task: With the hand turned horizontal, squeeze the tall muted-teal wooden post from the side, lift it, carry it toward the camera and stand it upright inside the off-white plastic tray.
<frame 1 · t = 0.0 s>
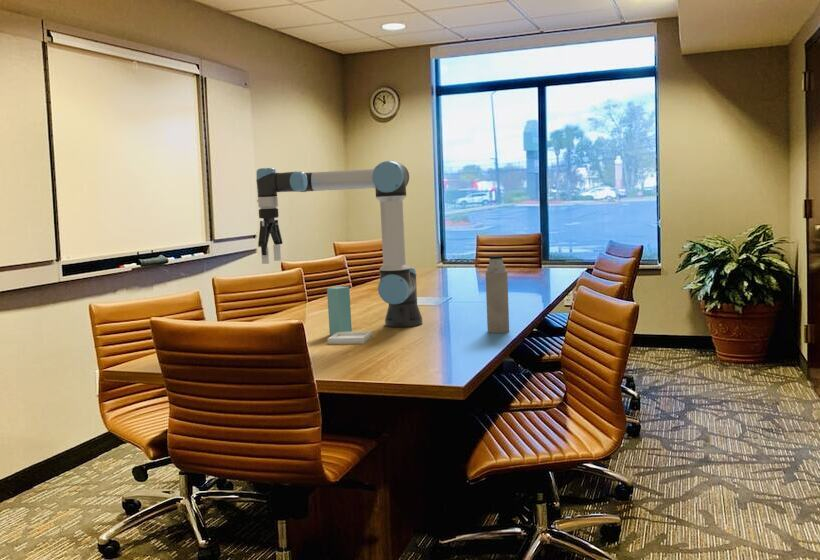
hand: (271, 262, 293), 28 cm above the table, tool pointing down, fingers open, 13 cm apart
tray: (350, 340, 271), on the table
teal post: (340, 334, 285), on the table
thermos bottle: (498, 331, 275), on the table
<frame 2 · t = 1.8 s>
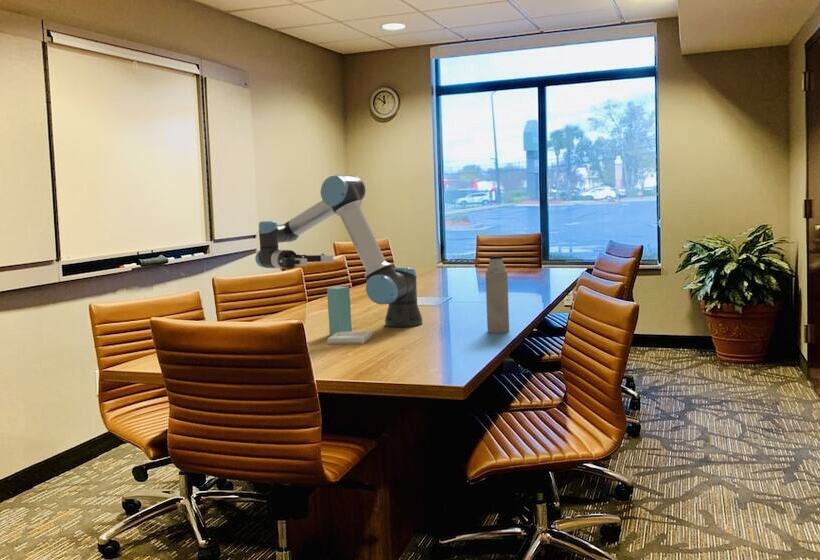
hand: (319, 260, 288), 28 cm above the table, tool horizontal, fingers open, 13 cm apart
nothing on the table moved.
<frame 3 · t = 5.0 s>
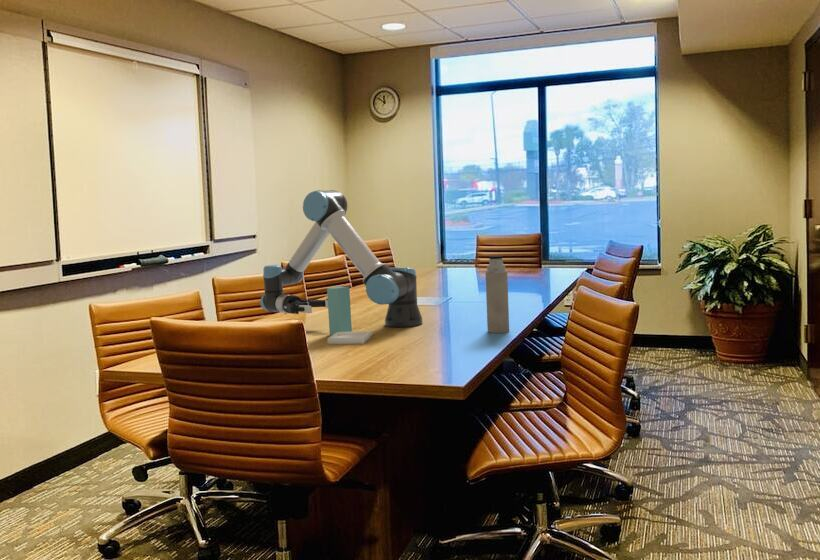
hand: (324, 307, 289), 10 cm above the table, tool horizontal, fingers open, 13 cm apart
nothing on the table moved.
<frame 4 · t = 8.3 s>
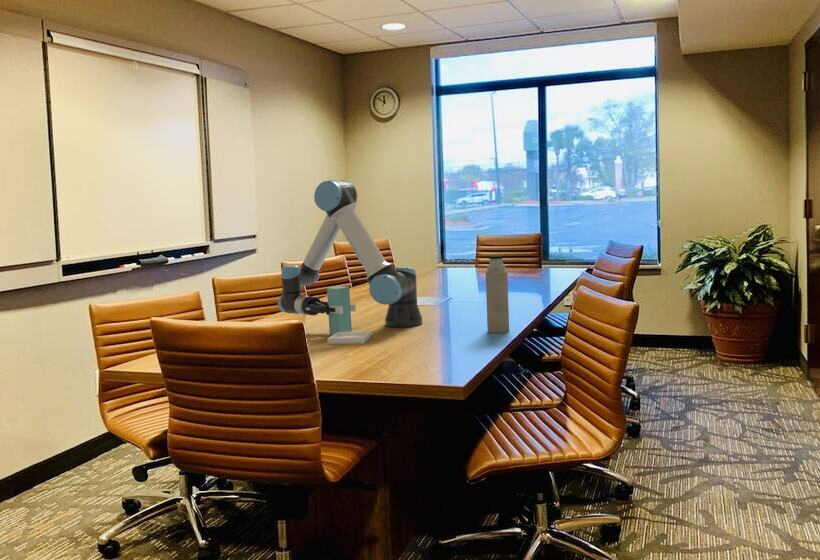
hand: (348, 309, 280), 10 cm above the table, tool horizontal, fingers closed on teal post, 6 cm apart
teal post: (340, 334, 285), on the table, touching gripper
everything else where it was.
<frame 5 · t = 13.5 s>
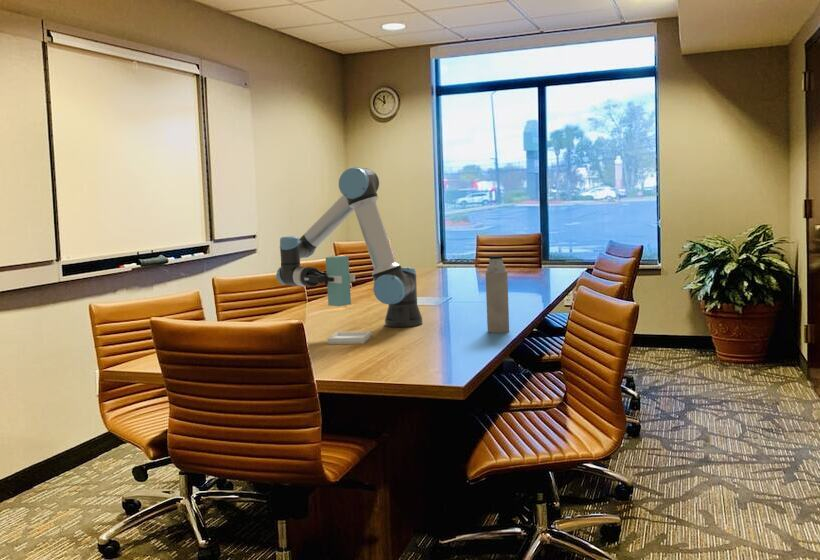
hand: (347, 278, 275), 22 cm above the table, tool horizontal, fingers closed on teal post, 6 cm apart
teal post: (339, 304, 279), point 12 cm above the table, touching gripper
everything else where it was.
when the fingers open (12 cm above the table, at t = 19.0 s): teal post stays where it is, resting on tray.
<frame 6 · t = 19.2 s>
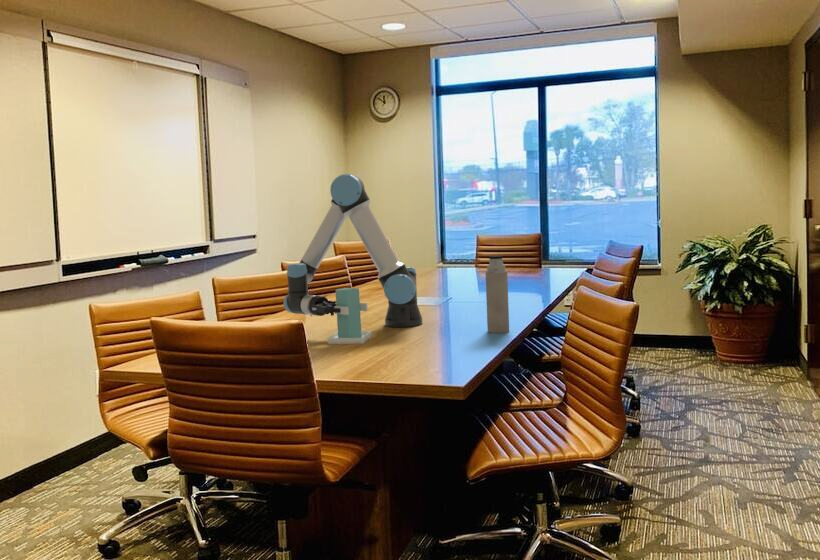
hand: (357, 309, 266), 12 cm above the table, tool horizontal, fingers open, 9 cm apart
teal post: (349, 338, 271), point 1 cm above the table, touching tray
everything else where it was.
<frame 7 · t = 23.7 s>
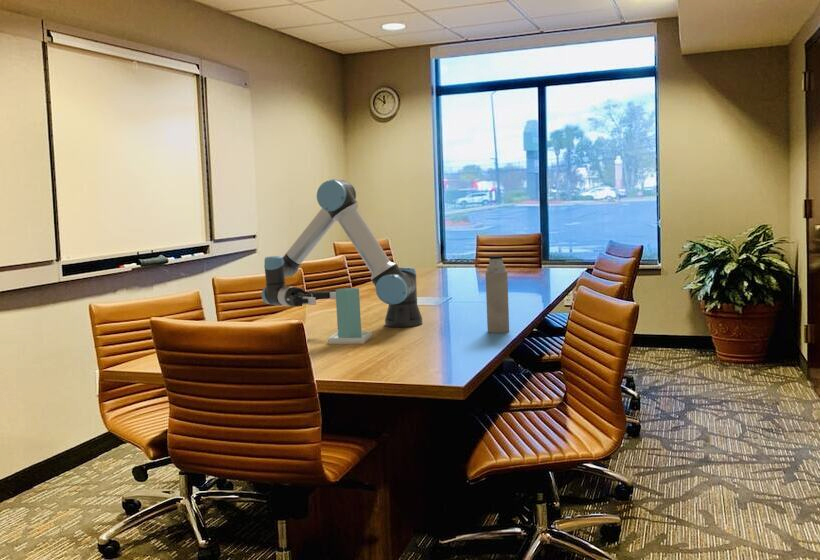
hand: (328, 298, 276), 15 cm above the table, tool horizontal, fingers open, 13 cm apart
nothing on the table moved.
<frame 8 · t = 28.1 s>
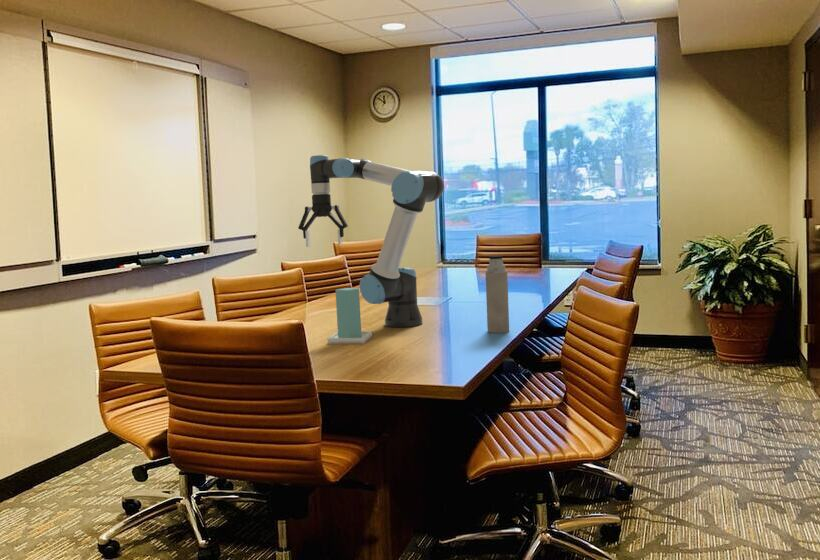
hand: (324, 246, 305), 33 cm above the table, tool pointing down, fingers open, 13 cm apart
nothing on the table moved.
at the end: teal post 0.1 cm off-centre on the tray, point 0.8 cm above the tray's base; teal post tilted 0°; the gripper is holding nothing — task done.
